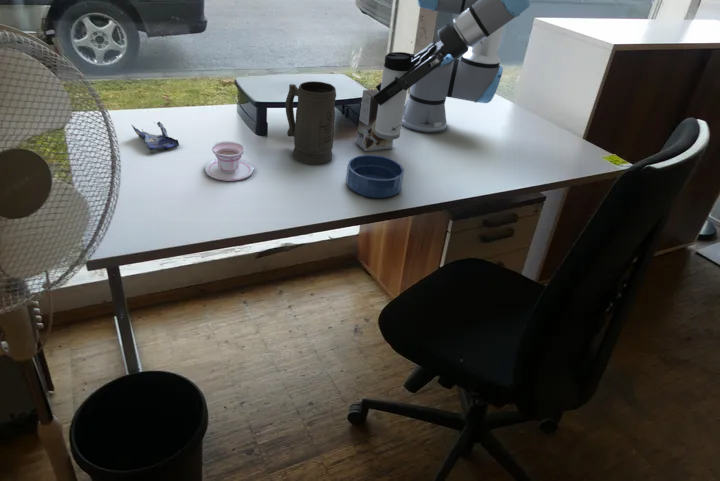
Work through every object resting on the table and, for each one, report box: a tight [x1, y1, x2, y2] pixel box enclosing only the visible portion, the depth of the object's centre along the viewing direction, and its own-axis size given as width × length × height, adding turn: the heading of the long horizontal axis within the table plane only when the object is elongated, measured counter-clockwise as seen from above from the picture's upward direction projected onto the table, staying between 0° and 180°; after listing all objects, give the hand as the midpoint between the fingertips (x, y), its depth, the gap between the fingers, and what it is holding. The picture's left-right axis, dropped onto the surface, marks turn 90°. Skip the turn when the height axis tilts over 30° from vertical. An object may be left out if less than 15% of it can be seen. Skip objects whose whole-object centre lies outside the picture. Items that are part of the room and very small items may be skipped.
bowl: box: [345, 154, 405, 199], centre depth 143 cm, size 14×14×6 cm
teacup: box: [204, 140, 254, 182], centre depth 141 cm, size 12×12×6 cm
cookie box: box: [355, 89, 394, 152], centre depth 162 cm, size 9×6×16 cm
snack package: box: [131, 121, 180, 154], centre depth 149 cm, size 12×6×12 cm
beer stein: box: [285, 80, 337, 165], centre depth 151 cm, size 15×11×20 cm
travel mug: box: [375, 51, 415, 141], centre depth 133 cm, size 6×7×20 cm
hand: (378, 95), depth 134 cm, fingers closed on travel mug, 6 cm apart
